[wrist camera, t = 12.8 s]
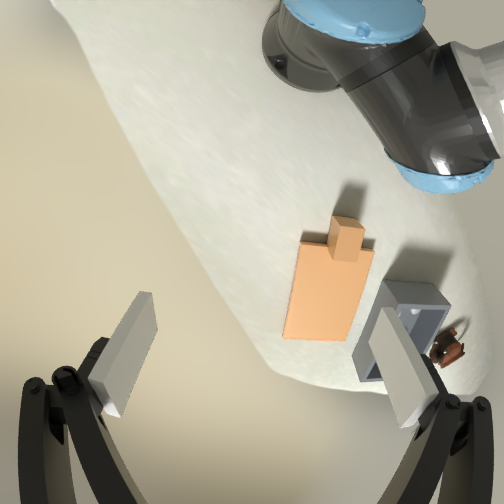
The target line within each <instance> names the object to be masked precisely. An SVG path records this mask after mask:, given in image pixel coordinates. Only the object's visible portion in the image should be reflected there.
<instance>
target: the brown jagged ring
mask: <svg viewBox="0 0 504 504" xmlns="http://www.w3.org/2000/svg"><path fill="white" fill-rule="evenodd" d="M455 335H457V332H456V331H455V330H454V328H451V329H449V330H447V331H445V332H443V333H442V334H440V335H438V336H437V337H436V339H437V342H438V344H433V346H432V349H431V350H430V353H429V357H430V359H431V361H432V362H433V363H438V362H439V363H438V365H440V366H441V369H442V368H444V367H446V366H448V365H450V364H451V363H453V362H454V361H456V360H457V359H459V358H460V357H462V356H463V355H464V354H465V352H463V349H464V343H462V345H461V344H460V343H459V342H458V341H457V340H456V339H455V337H454V336H455ZM444 350H445V351H446V352H447V353H446V354H444V353H443V352H444Z"/></svg>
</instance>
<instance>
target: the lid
mask: <svg viewBox="0 0 504 504" xmlns="http://www.w3.org/2000/svg"><path fill="white" fill-rule="evenodd" d="M364 233H365V228H364V227H363V226H362V225H361V224H360V223H359V222H358V221H357V220H356V219H355V218H348V217H341V216H333V215H332V219H331V225H330V230H329V235H328V240H327V244H321V243H311V242H301V241H300V245H299V251H298V257H297V263H296V268H295V274H294V279H293V284H292V290H291V295H290V300H289V305H288V310H287V315H286V320H285V325H284V330H283V334H282V336H283V339H294V340H318V341H346V338H347V335H348V333H349V330H350V327H351V325H352V322H353V319H354V316H355V313H356V310H357V308H358V305H359V302H360V299H361V296H362V293H363V289H364V286H365V283H366V280H367V277H368V273H369V270H370V267H371V263H372V260H373V256H374V251H373V249H367V248H361V245H362V241H363V237H364Z"/></svg>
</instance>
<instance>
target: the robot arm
mask: <svg viewBox="0 0 504 504" xmlns="http://www.w3.org/2000/svg"><path fill="white" fill-rule="evenodd" d="M422 1H423V0H280V5H279V11H278V12H276V13H275V14H274V15H273V16H272V17H271V18H270V19H269V21H268V22H267V24H266V26H265V28H264V31H263V36H262V51H263V55H264V58H265V60H266V62H267V64H268V66H269V67H270V69H271V70H272V71H273V73H274V74H275V75H276V76H277V77H279V78H280V79H281V80H282V81H284V82H285V83H287V84H288V85H290V86H292V87H295V88H297V89H300V90H303V91H308V92H319V93H320V92H329V91H333V90H336V89H338V88H341V87H342V88H343V89H344V90H345V92H346V93H347V95H348V96H349V97H350V99H351V100H352V101H353V103H354V104H355V105H356V107H357V108H358V109H359V111H360V112H361V113H362V115H363V116H364V118H365V119H366V121H367V122H368V123H369V125H370V126H371V128H372V129H373V131H374V132H375V134H376V135H377V137H378V138H379V140H380V141H381V143H382V144H383V146H384V150H385V153H386V154H387V156H388V158H389V159H390V160H391V161H392V162H393V163H394V164H395V165H396V167H397V168H398V170H399V171H400V173H401V175H402V176H403V178H404V179H405V180H406V181H407V182H408V183H410V184H411V185H412V186H414V187H415V188H417V189H419V190H422V191H425V192H429V193H435V194H451V193H457V192H462V191H465V190H468V189H470V188H472V187H474V183H476V182H477V183H482V182H483V181H484V180H485V179H486V178H487V177H488V176H489V175H490V173H491V171H492V170H493V166H494V159H499V158H504V41H502V42H499V43H496V44H493V45H490V46H487V47H484V48H481V49H471V48H469V47H467V46H465V45H463V44H460V43H458V42H456V41H453V42H449V43H447V44H445V45H442V46H438V45H437V44H436V42H435V41H434V40H433V38H432V37H431V35H430V34H429V33H428V31H427V30H426V29H425V27H424V26H423V22H424V18H425V7H424V6H423V5H422ZM157 330H158V328H157V323H156V317H155V311H154V304H153V298H152V293H150V292H142V291H140V292H139V293H138V295H137V296H136V298H135V299H134V301H133V302H132V304H131V305H130V307H129V308H128V310H127V312H126V313H125V315H124V317H123V318H122V320H121V321H120V323H119V325H118V326H117V328H116V330H115V331H114V333H113V335H112V336H111V338H104V337H101V338H100V339H99V340H97V341H96V342H95V343H94V344H93V346H92V347H91V349H90V351H89V352H88V354H87V357H85V359H84V361H83V362H82V364H81V365H80V367H79V369H78V371H76V369H75V368H73V367H71V366H62V367H60V368H58V369H57V370H55V371H54V373H53V375H52V382H53V384H54V385H46V384H45V382H44V381H43V379H41V378H39V377H34V378H30V379H29V380H27V381H26V382H25V384H24V387H23V392H22V400H21V408H20V419H19V436H18V474H19V475H18V476H19V491H20V501H21V504H77V503H76V499H75V493H74V487H73V481H72V474H71V467H70V457H69V445H68V430H67V425H68V428H69V431H70V434H71V438H72V441H73V443H74V447H75V449H76V452H77V455H78V458H79V460H80V463H81V465H82V468H83V470H84V472H85V475H86V477H87V480H88V482H89V484H90V486H91V489H92V491H93V493H94V495H95V497H96V499H97V501H98V503H99V504H147V502H146V501H145V499H144V497H143V496H142V494H141V492H140V491H139V489H138V487H137V486H136V484H135V483H134V481H133V479H132V477H131V475H130V473H129V472H128V470H127V468H126V466H125V464H124V462H123V460H122V458H121V456H120V454H119V452H118V451H117V448H116V446H115V444H114V442H113V440H112V438H111V436H110V433H109V431H108V429H107V426H106V424H105V422H104V419H103V417H102V415H101V412H102V410H103V408H104V409H105V411H106V413H107V414H109V415H112V416H116V417H119V418H121V417H122V415H123V412H124V410H125V406H126V404H127V402H128V399H129V397H130V394H131V392H132V389H133V387H134V384H135V382H136V380H137V377H138V375H139V372H140V370H141V368H142V365H143V363H144V360H145V358H146V356H147V353H148V351H149V349H150V346H151V344H152V342H153V340H154V337H155V335H156V333H157ZM369 345H370V347H371V350H372V352H373V355H374V357H375V360H376V363H377V365H378V368H379V370H380V373H381V376H382V378H383V381H384V384H385V386H386V389H387V392H388V395H389V397H390V400H391V403H392V406H393V409H394V412H395V415H396V418H397V421H398V424H399V427H400V428H404V427H409V426H412V425H413V424H414V423H415V422H416V421H417V420H419V423H420V425H419V426H418V427H417V428H416V429H415V430H414V431H413V432H412V434H411V435H410V436H412V435H413V434H414V433H415V434H414V436H413V438H412V441H411V443H410V445H409V447H408V449H407V451H406V454H405V455H404V457H403V459H402V461H401V463H400V465H399V467H398V469H397V471H396V473H395V475H394V476H393V478H392V480H391V482H390V483H389V485H388V487H387V488H386V490H385V492H384V493H383V495H382V497H381V498H380V500H379V501H378V503H377V504H429V502H430V500H431V498H432V496H433V494H434V491H435V489H436V487H437V484H438V482H439V480H440V477H441V475H442V472H443V475H442V482H441V488H440V493H439V498H438V503H437V504H491V497H492V487H493V471H494V440H493V422H492V411H491V405H490V403H489V401H488V400H487V399H486V398H485V397H482V396H478V397H476V398H475V399H474V400H473V401H472V402H461V401H460V399H459V398H458V397H457V396H455V395H454V394H449V393H448V391H447V389H446V387H445V385H444V383H443V382H442V380H441V378H440V376H439V374H438V372H437V370H436V368H435V366H434V365H433V363H432V361H431V359H430V358H429V357H427V356H426V355H425V354H419V352H418V350H417V349H416V347H415V345H414V343H413V341H412V340H411V338H410V336H409V334H408V332H407V331H406V329H405V327H404V326H403V324H402V322H401V320H400V319H399V317H398V315H397V314H396V312H395V310H394V309H393V307H382V308H381V311H380V314H379V316H378V319H377V322H376V324H375V327H374V329H373V332H372V334H371V337H370V339H369Z"/></svg>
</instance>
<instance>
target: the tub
mask: <svg viewBox="0 0 504 504" xmlns="http://www.w3.org/2000/svg"><path fill="white" fill-rule="evenodd" d="M451 306H452V305H451V304H450V303H449V302H448V301H447V299H446V298H445V297H444V296H443V295H442V294H441V292H440V291H439V290H438V289H437V288H436V287H435V286H434V284H428V283H416V282H404V281H393V280H382V282H381V285H380V288H379V291H378V293H377V296H376V299H375V301H374V304H373V307H372V309H371V312H370V314H369V317H368V319H367V322H366V324H365V327H364V329H363V331H362V334H361V336H360V338H359V341H358V343H357V345H356V347H355V350H354V352H353V354H352V358H353V361H354V364H355V367H356V371H357V374H358V377H359V380H360V382H373V381H383V378H382V376H381V373H380V370H379V368H378V365H377V363H376V360H375V357H374V355H373V352H372V350H371V347H370V345H369V339H370V337H371V334H372V332H373V329H374V327H375V324H376V322H377V319H378V316H379V314H380V311H381V308H382V307H393V309H394V310H395V312H396V314H397V315H398V317H399V319H400V320H401V322H402V324H403V326H404V327H405V329H406V331H407V332H408V334H409V336H410V338H411V340H412V341H413V343H414V345H415V347H416V349H417V350H418V352H419V354H426V352H427V351H428V349H429V347H430V346H431V344H432V342H433V340H434V339H435V337H436V335H437V333H438V331H439V329H440V328H441V326H442V324H443V322H444V320H445V318H446V316H447V314H448V312H449V310H450V308H451Z"/></svg>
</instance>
